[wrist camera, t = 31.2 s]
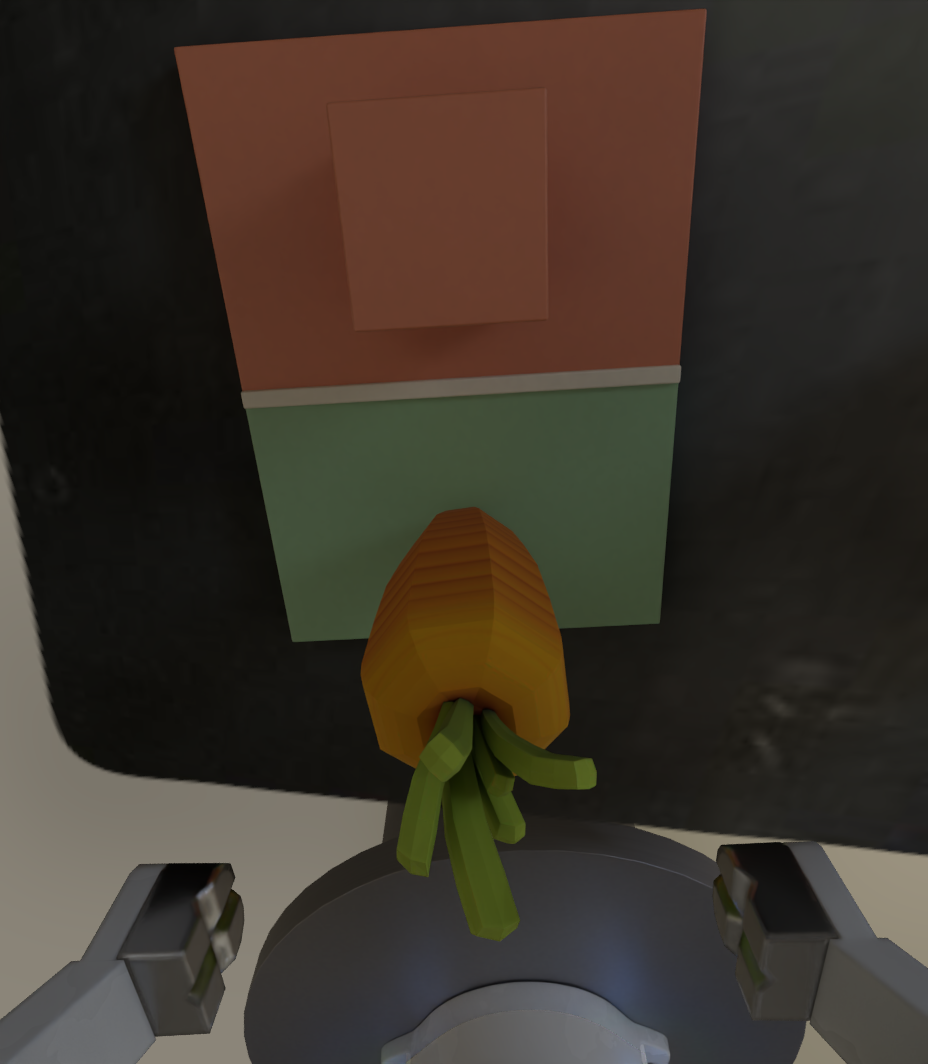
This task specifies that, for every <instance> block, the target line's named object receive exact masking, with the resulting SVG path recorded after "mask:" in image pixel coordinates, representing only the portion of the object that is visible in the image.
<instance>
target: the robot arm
mask: <svg viewBox="0 0 928 1064" xmlns="http://www.w3.org/2000/svg"><path fill="white" fill-rule="evenodd" d="M716 862H717V865H718V867H719V870H720V872H721V874H720V875H719V876H718V877H717V878H716V879H715V880H714V882H713V894H712V897H713V906H714V914H715V918H716V922H717V926H718V930H719V932H720V935H721V938H722V941H723V944H724V946H725V947H726V948H728V949H729V950H730V951H731V952H732V953H733V954H734V955H735V956H736V957H737V962H736V969H735V976H736V979H737V982H738V984H739V987H740V990H741V992H742V995H743V998H744V1000H745V1003H746V1006H747V1008H748V1011H749V1014H750V1016H751V1019H752V1020H795V1021H809V1020H810V1025H811V1026H812V1027H813V1028H814V1029H815V1030H816V1031H817V1032H818V1033H819V1034H820V1035H821V1037H822V1038H823V1039H824V1040H825V1041H826V1042H827V1043H828V1044H829V1045H830V1046H831V1047H832V1048H833V1049H834V1050H835V1052H836V1053H837V1054H838V1055H839V1056H840V1057H841V1058H842V1059H843V1060H844V1061H845V1062H846V1063H847V1064H928V968H927V967H925V966H924V965H923V964H921V963H920V962H919V961H917V960H916V959H914V958H913V957H912V956H910V955H909V954H908V953H907V952H905V951H904V950H903V949H901V948H900V947H898V946H897V945H896V944H895V943H893V942H892V941H891V940H889V939H888V938H877V937H876V935H875V934H874V932H873V930H872V929H871V927H870V926H869V924H868V922H867V920H866V919H865V917H864V916H863V914H862V912H861V911H860V909H859V907H858V906H857V904H856V902H855V901H854V899H853V898H852V896H851V894H850V892H849V891H848V889H847V888H846V886H845V884H844V883H843V881H842V879H841V878H840V876H839V874H838V873H837V871H836V869H835V868H834V866H833V865H832V863H831V861H830V860H829V858H828V856H827V855H826V853H825V851H824V850H823V848H822V847H821V846H820V845H819V844H818V843H817V842H815V841H814V842H784V843H781V842H771V843H750V844H729V845H721V846H720V847H719V849H718V851H717V858H716ZM234 879H235V875H234V872H233V869H232V866H231V864H229V863H173V864H172V863H169V864H139V865H138V866H137V867H136V868H135V869H134V870H133V871H132V872H131V873H130V874H129V876H128V878H127V879H126V881H125V883H124V885H123V886H122V888H121V890H120V892H119V894H118V895H117V897H116V899H115V901H114V902H113V904H112V906H111V908H110V909H109V911H108V913H107V915H106V916H105V918H104V920H103V922H102V923H101V925H100V927H99V929H98V931H97V932H96V934H95V936H94V938H93V939H92V941H91V943H90V945H89V946H88V948H87V950H86V952H85V953H84V955H83V957H82V959H81V960H80V961H71V962H70V963H69V964H67V965H66V966H65V967H64V968H63V969H62V970H60V971H59V972H58V973H57V974H55V975H54V976H53V977H52V978H51V979H49V980H48V981H47V982H46V983H44V984H43V985H42V986H41V987H40V988H38V989H37V990H36V991H35V992H33V993H32V994H31V995H30V996H29V997H27V998H26V999H25V1000H24V1001H23V1002H21V1003H20V1004H19V1005H18V1006H17V1007H16V1008H14V1009H13V1010H12V1011H11V1012H9V1013H8V1014H7V1015H6V1016H4V1017H3V1018H2V1019H1V1020H0V1064H136V1063H137V1062H138V1061H139V1060H140V1058H141V1057H142V1056H143V1055H144V1054H145V1053H146V1051H147V1050H148V1049H149V1047H150V1046H151V1045H152V1044H153V1043H154V1042H155V1040H156V1039H155V1037H156V1036H174V1035H190V1034H207V1033H210V1031H211V1028H212V1026H213V1023H214V1020H215V1017H216V1014H217V1011H218V1008H219V1005H220V1002H221V999H222V997H223V994H224V991H225V985H224V982H223V978H222V975H221V973H222V972H223V971H224V970H225V969H226V968H227V967H228V966H229V965H230V964H231V963H232V962H233V961H234V960H235V959H236V956H237V952H238V949H239V946H240V943H241V939H242V933H243V926H244V908H243V903H242V899H241V896H240V895H238V894H237V893H236V892H235V891H234V890H232V889H231V888H232V885H233V882H234ZM669 1061H670V1051H669V1045H668V1039H667V1037H666V1036H665V1035H663V1034H662V1033H660V1032H658V1031H656V1030H653V1029H651V1028H648V1027H645V1026H642V1025H639V1024H636V1023H634V1022H633V1021H631V1020H630V1019H628V1018H627V1017H626V1016H625V1015H624V1014H623V1013H622V1012H620V1011H619V1010H618V1009H617V1008H616V1007H615V1006H613V1005H612V1004H611V1003H609V1002H608V1001H606V1000H604V999H603V998H601V997H599V996H597V995H595V994H592V993H590V992H587V991H585V990H582V989H579V988H575V987H571V986H567V985H562V984H556V983H547V982H511V983H502V984H496V985H491V986H486V987H482V988H478V989H475V990H472V991H469V992H466V993H464V994H461V995H459V996H457V997H455V998H452V999H451V1000H449V1001H447V1002H445V1003H444V1004H442V1005H441V1006H439V1007H438V1008H437V1009H435V1010H434V1011H433V1012H432V1013H431V1014H430V1015H429V1016H428V1017H427V1018H426V1019H425V1020H424V1021H423V1022H422V1023H421V1024H420V1025H419V1026H418V1027H417V1028H416V1029H414V1030H413V1031H411V1032H409V1033H407V1034H404V1035H402V1036H400V1037H398V1038H395V1039H393V1040H391V1041H390V1042H388V1043H386V1044H385V1045H384V1046H383V1047H382V1049H381V1064H668V1063H669Z"/></svg>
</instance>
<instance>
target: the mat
mask: <svg viewBox="0 0 928 1064" xmlns="http://www.w3.org/2000/svg"><path fill="white" fill-rule="evenodd" d="M706 15H707V11H706V9H691V10H677V11H663V12H650V13H636V14H622V15H608V16H595V17H581V18H567V19H553V20H540V21H526V22H512V23H498V24H485V25H471V26H457V27H443V28H429V29H416V30H402V31H388V32H374V33H361V34H347V35H333V36H319V37H306V38H292V39H278V40H264V41H251V42H237V43H223V44H209V45H196V46H182V47H175V48H174V51H175V56H176V61H177V66H178V71H179V76H180V81H181V86H182V91H183V96H184V101H185V106H186V111H187V116H188V121H189V126H190V131H191V136H192V141H193V146H194V151H195V156H196V161H197V166H198V171H199V176H200V181H201V186H202V191H203V196H204V201H205V206H206V211H207V216H208V221H209V226H210V231H211V236H212V241H213V246H214V251H215V256H216V261H217V266H218V271H219V276H220V281H221V286H222V291H223V296H224V301H225V306H226V311H227V316H228V321H229V326H230V331H231V336H232V341H233V346H234V351H235V356H236V361H237V366H238V371H239V376H240V381H241V386H242V392H241V397H242V402H243V407H244V408H245V409H246V412H247V417H248V422H249V427H250V432H251V437H252V442H253V447H254V452H255V457H256V462H257V467H258V472H259V477H260V482H261V487H262V492H263V497H264V502H265V507H266V512H267V517H268V522H269V527H270V532H271V537H272V542H273V547H274V552H275V557H276V562H277V567H278V572H279V577H280V582H281V587H282V592H283V597H284V602H285V607H286V612H287V617H288V622H289V627H290V632H291V637H292V641H293V642H304V641H323V640H343V639H363V638H369V636H370V633H371V629H372V626H373V622H374V619H375V616H376V614H377V611H378V608H379V605H380V602H381V599H382V596H383V594H384V591H385V588H386V586H387V584H388V582H389V581H390V579H391V577H392V576H393V574H394V572H395V571H396V569H397V567H398V566H399V564H400V563H401V561H402V560H403V558H404V557H405V556H406V554H407V553H408V552H409V550H410V549H411V547H412V546H413V545H414V543H415V542H416V541H417V539H418V538H419V537H420V536H421V534H422V533H423V532H424V530H425V529H426V528H427V526H428V525H429V524H430V523H431V521H432V520H433V519H434V517H435V516H436V515H437V514H439V513H441V512H444V511H447V510H454V509H461V508H468V507H477V508H479V509H481V510H482V511H484V512H485V513H487V514H488V515H489V516H491V517H492V518H494V519H495V520H497V521H498V522H500V523H501V524H503V525H504V526H506V527H507V528H509V529H510V530H512V531H513V532H514V534H515V535H516V536H517V537H518V538H519V540H520V541H521V542H522V543H523V545H524V546H525V547H526V549H527V550H528V552H529V553H530V555H531V556H532V558H533V559H534V560H535V562H536V563H537V565H538V568H539V571H540V573H541V576H542V579H543V581H544V584H545V587H546V589H547V592H548V595H549V598H550V601H551V604H552V608H553V611H554V614H555V618H556V621H557V624H558V627H559V628H579V627H599V626H618V625H638V624H658V623H660V613H661V600H662V587H663V574H664V561H665V548H666V535H667V522H668V509H669V496H670V484H671V471H672V458H673V445H674V432H675V419H676V406H677V393H678V383H679V382H680V377H681V366H680V365H679V364H680V351H681V338H682V325H683V312H684V300H685V287H686V274H687V261H688V248H689V235H690V222H691V209H692V196H693V183H694V170H695V157H696V144H697V131H698V118H699V105H700V92H701V79H702V66H703V53H704V41H705V28H706ZM536 87H545V88H546V89H547V158H548V320H546V321H534V322H518V323H502V324H486V325H470V326H454V327H438V328H422V329H406V330H390V331H374V332H358V333H357V332H355V331H354V329H353V321H352V313H351V305H350V297H349V289H348V281H347V273H346V265H345V257H344V249H343V241H342V233H341V225H340V217H339V209H338V201H337V193H336V185H335V177H334V169H333V161H332V153H331V145H330V137H329V129H328V121H327V113H326V104H327V103H328V102H339V101H353V100H367V99H381V98H395V97H409V96H423V95H438V94H452V93H466V92H480V91H494V90H508V89H522V88H536Z"/></svg>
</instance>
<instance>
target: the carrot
mask: <svg viewBox="0 0 928 1064" xmlns="http://www.w3.org/2000/svg"><path fill="white" fill-rule="evenodd" d="M361 679H362V683H363V687H364V691H365V695H366V698H367V702H368V706H369V710H370V713H371V717H372V721H373V724H374V728H375V732H376V735H377V739H378V743H379V746H380V749H381V750H382V751H384V752H386V753H388V754H390V755H392V756H393V757H395V758H397V759H399V760H401V761H403V762H405V763H406V764H408V765H410V766H412V767H414V768H416V770H415V772H414V775H413V777H412V781H411V785H410V789H409V793H408V797H407V801H406V805H405V809H404V813H403V817H402V823H401V829H400V834H399V840H398V846H397V860H398V861H399V862H400V863H401V864H402V865H403V866H404V867H405V868H406V869H407V870H408V871H409V872H410V873H411V874H414V875H419V876H425V877H428V876H429V870H430V864H431V858H432V853H433V848H434V843H435V838H436V833H437V826H438V819H439V813H440V806H441V799H442V805H443V818H444V831H445V839H446V843H447V848H448V852H449V856H450V861H451V865H452V869H453V874H454V878H455V882H456V887H457V890H458V893H459V897H460V900H461V903H462V906H463V909H464V913H465V916H466V919H467V922H468V926H469V929H470V932H471V934H473V935H476V936H479V937H483V938H487V939H492V940H496V941H501V940H502V939H504V938H505V937H506V936H507V935H509V934H510V933H511V932H512V931H514V930H515V929H516V928H517V926H518V924H519V922H520V919H519V915H518V912H517V909H516V906H515V903H514V900H513V897H512V893H511V890H510V887H509V884H508V881H507V878H506V874H505V871H504V869H503V866H502V863H501V860H500V857H499V854H498V852H497V849H496V846H495V843H494V840H493V838H494V839H497V840H499V841H502V842H505V843H509V844H515V843H516V842H518V841H519V840H520V839H521V838H522V837H524V836H525V821H524V819H523V817H522V815H521V813H520V811H519V808H518V806H517V804H516V802H515V800H514V797H513V795H512V793H511V791H512V790H513V785H514V781H515V777H514V776H517V775H518V776H519V777H521V778H522V779H524V780H525V781H527V782H528V783H530V784H532V785H538V786H543V787H549V788H554V789H590V788H592V787H594V786H596V776H597V771H596V769H595V766H594V763H593V760H592V758H584V757H577V756H569V755H560V754H553V753H551V752H549V751H546V750H544V749H545V748H546V747H547V746H548V745H549V744H550V743H551V742H552V741H553V740H554V739H555V738H556V737H557V736H558V735H559V734H560V733H561V732H562V731H563V730H564V729H565V728H566V727H567V726H568V723H569V718H570V709H569V700H568V691H567V682H566V673H565V664H564V655H563V646H562V638H561V634H560V631H559V627H558V624H557V621H556V618H555V614H554V611H553V608H552V604H551V601H550V598H549V595H548V592H547V589H546V587H545V584H544V581H543V579H542V576H541V573H540V571H539V568H538V565H537V563H536V562H535V560H534V559H533V558H532V556H531V555H530V553H529V552H528V550H527V549H526V547H525V546H524V545H523V543H522V542H521V541H520V540H519V538H518V537H517V536H516V535H515V534H514V532H513V531H512V530H510V529H509V528H507V527H506V526H504V525H503V524H501V523H500V522H498V521H497V520H495V519H494V518H492V517H491V516H489V515H488V514H487V513H485V512H484V511H482V510H481V509H479V508H477V507H468V508H461V509H454V510H447V511H444V512H441V513H439V514H437V515H436V516H435V517H434V519H433V520H432V521H431V523H430V524H429V525H428V526H427V528H426V529H425V530H424V532H423V533H422V534H421V536H420V537H419V538H418V539H417V541H416V542H415V543H414V545H413V546H412V547H411V549H410V550H409V552H408V553H407V554H406V556H405V557H404V558H403V560H402V561H401V563H400V564H399V566H398V567H397V569H396V571H395V572H394V574H393V576H392V577H391V579H390V581H389V582H388V584H387V586H386V588H385V591H384V594H383V596H382V599H381V602H380V605H379V608H378V611H377V614H376V616H375V619H374V622H373V626H372V629H371V633H370V636H369V640H368V643H367V647H366V650H365V654H364V657H363V660H362V664H361ZM486 820H487V821H486ZM487 823H488V824H487ZM488 825H489V826H488ZM489 828H490V829H489ZM490 831H491V832H490ZM491 833H492V835H491ZM492 836H493V838H492Z"/></svg>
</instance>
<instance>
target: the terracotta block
mask: <svg viewBox="0 0 928 1064" xmlns="http://www.w3.org/2000/svg"><path fill="white" fill-rule="evenodd" d="M326 113H327V121H328V129H329V137H330V145H331V153H332V161H333V169H334V177H335V185H336V193H337V201H338V209H339V217H340V225H341V233H342V241H343V249H344V257H345V265H346V273H347V281H348V289H349V297H350V305H351V313H352V321H353V329H354V331H355V332H357V333H358V332H374V331H390V330H406V329H422V328H438V327H454V326H470V325H486V324H502V323H518V322H534V321H546V320H548V158H547V89H546V88H545V87H536V88H522V89H508V90H494V91H480V92H466V93H452V94H438V95H423V96H409V97H395V98H381V99H367V100H353V101H339V102H328V103H327V104H326Z"/></svg>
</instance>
